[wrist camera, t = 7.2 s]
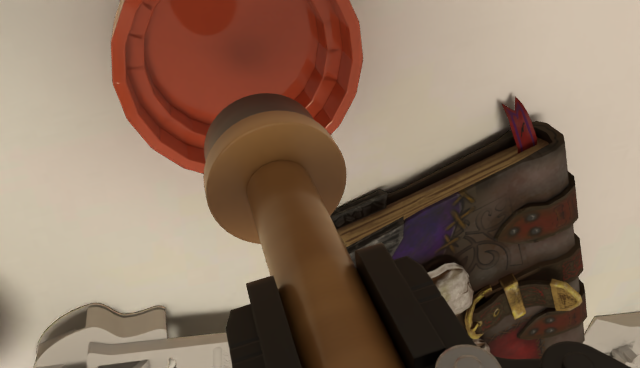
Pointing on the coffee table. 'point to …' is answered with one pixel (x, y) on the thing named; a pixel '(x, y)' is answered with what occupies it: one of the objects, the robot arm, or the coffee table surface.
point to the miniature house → (616, 337)
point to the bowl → (229, 64)
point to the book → (490, 238)
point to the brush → (295, 226)
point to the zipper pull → (125, 342)
